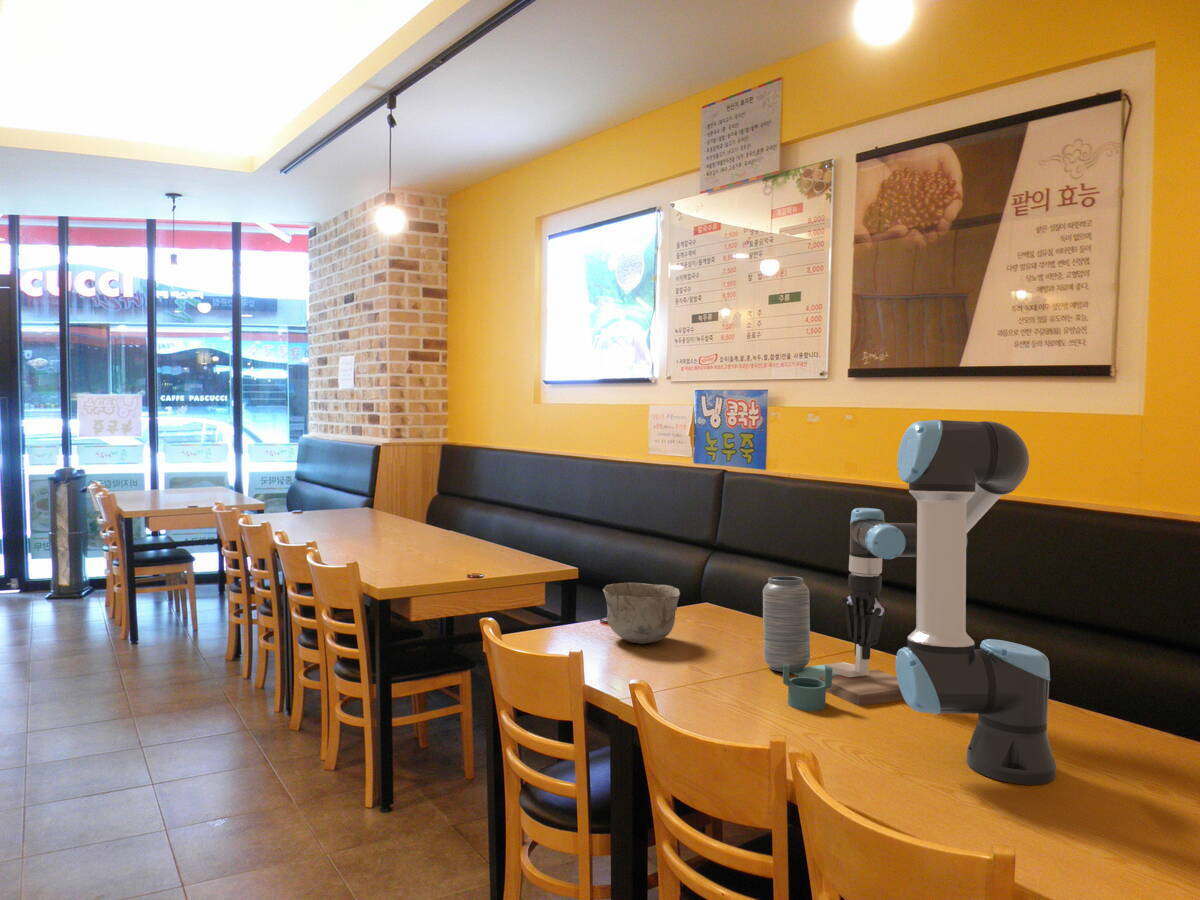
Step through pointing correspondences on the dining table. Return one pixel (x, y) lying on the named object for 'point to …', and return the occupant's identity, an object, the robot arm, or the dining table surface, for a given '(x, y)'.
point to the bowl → (641, 610)
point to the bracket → (807, 690)
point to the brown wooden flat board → (866, 688)
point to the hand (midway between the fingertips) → (861, 671)
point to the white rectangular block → (845, 669)
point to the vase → (786, 623)
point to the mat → (812, 672)
